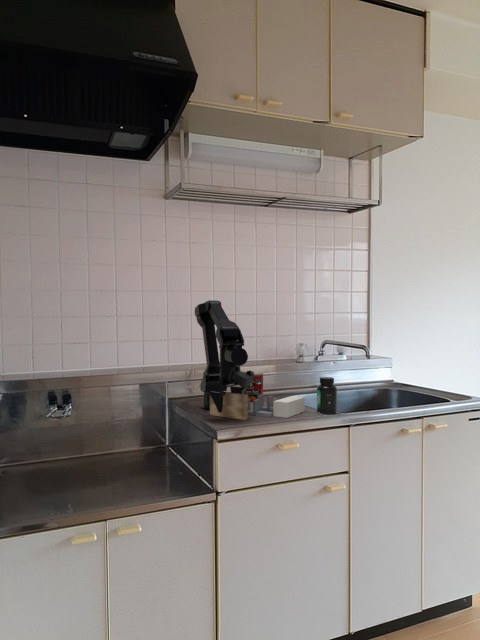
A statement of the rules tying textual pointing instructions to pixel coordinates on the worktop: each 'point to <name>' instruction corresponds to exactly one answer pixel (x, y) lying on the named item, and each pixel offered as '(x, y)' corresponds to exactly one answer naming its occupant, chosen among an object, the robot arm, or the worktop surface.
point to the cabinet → (277, 406)
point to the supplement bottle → (326, 396)
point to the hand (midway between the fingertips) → (228, 409)
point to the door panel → (232, 406)
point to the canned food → (255, 386)
